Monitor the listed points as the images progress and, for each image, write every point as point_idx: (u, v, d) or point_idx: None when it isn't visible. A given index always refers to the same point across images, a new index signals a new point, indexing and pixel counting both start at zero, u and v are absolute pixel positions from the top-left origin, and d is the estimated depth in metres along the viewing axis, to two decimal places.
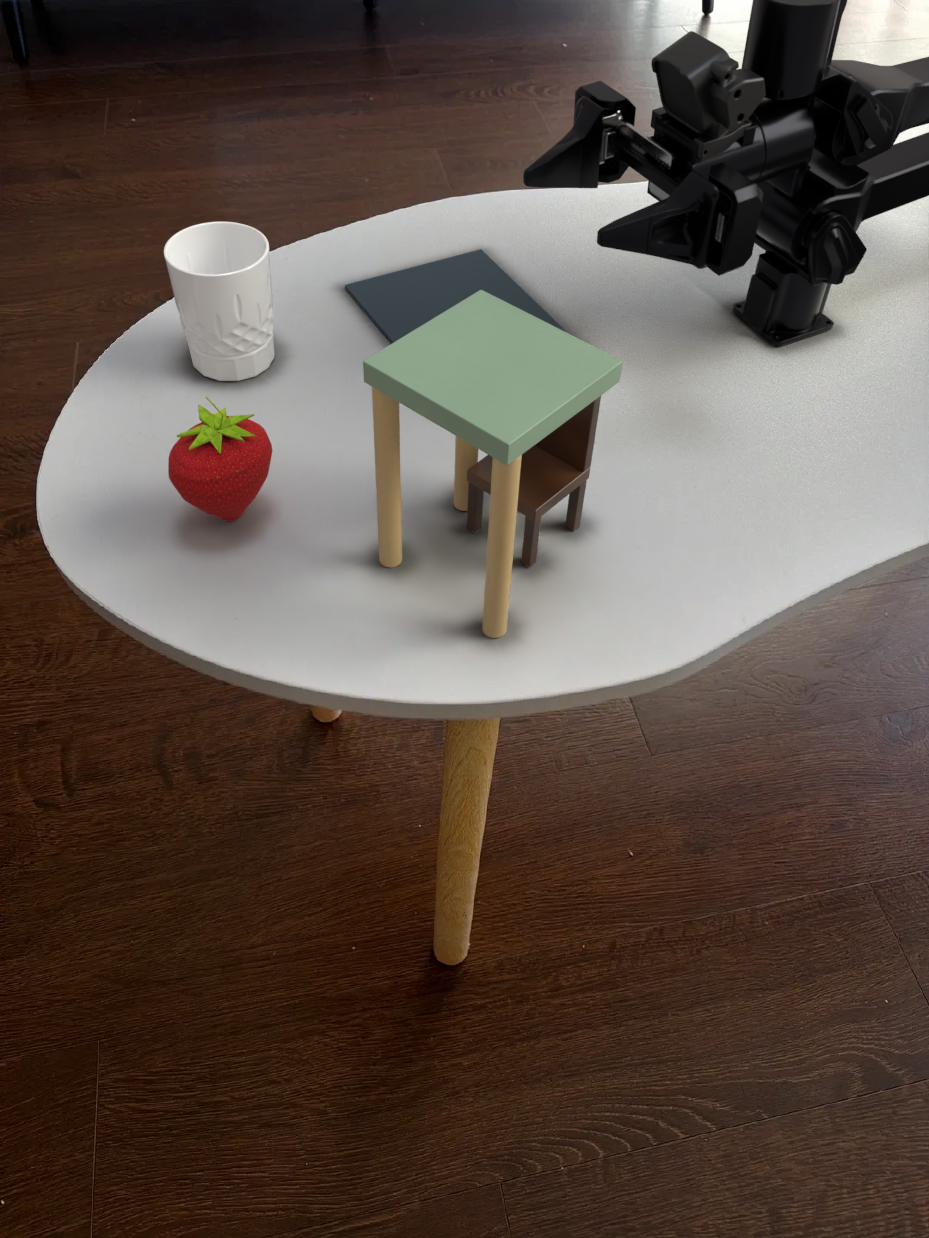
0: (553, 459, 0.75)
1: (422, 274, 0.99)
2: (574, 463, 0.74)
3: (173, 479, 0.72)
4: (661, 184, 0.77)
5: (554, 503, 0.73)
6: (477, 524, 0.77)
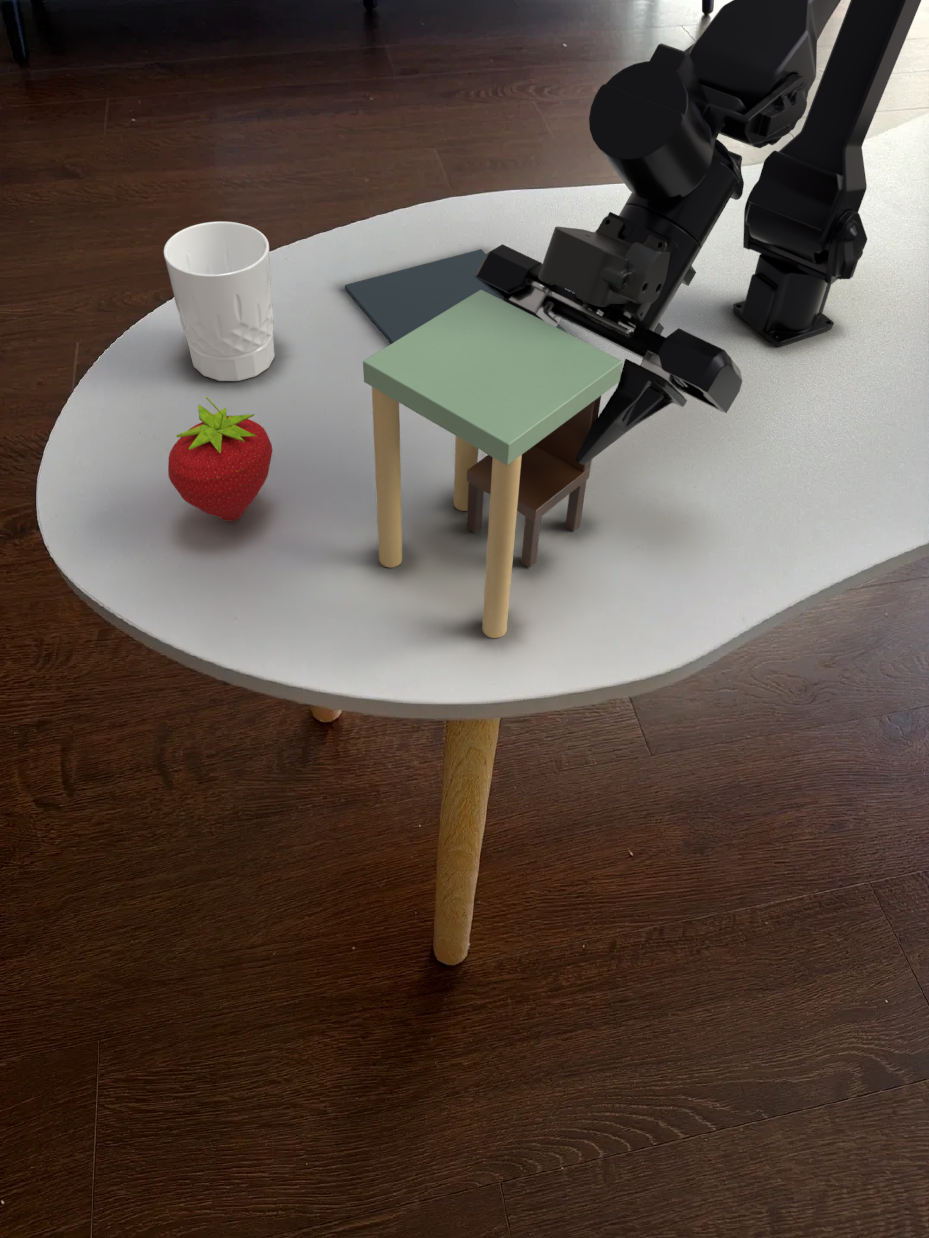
0: (553, 459, 0.75)
1: (422, 274, 0.99)
2: (574, 463, 0.74)
3: (173, 479, 0.72)
4: (597, 335, 0.72)
5: (554, 503, 0.73)
6: (477, 524, 0.77)
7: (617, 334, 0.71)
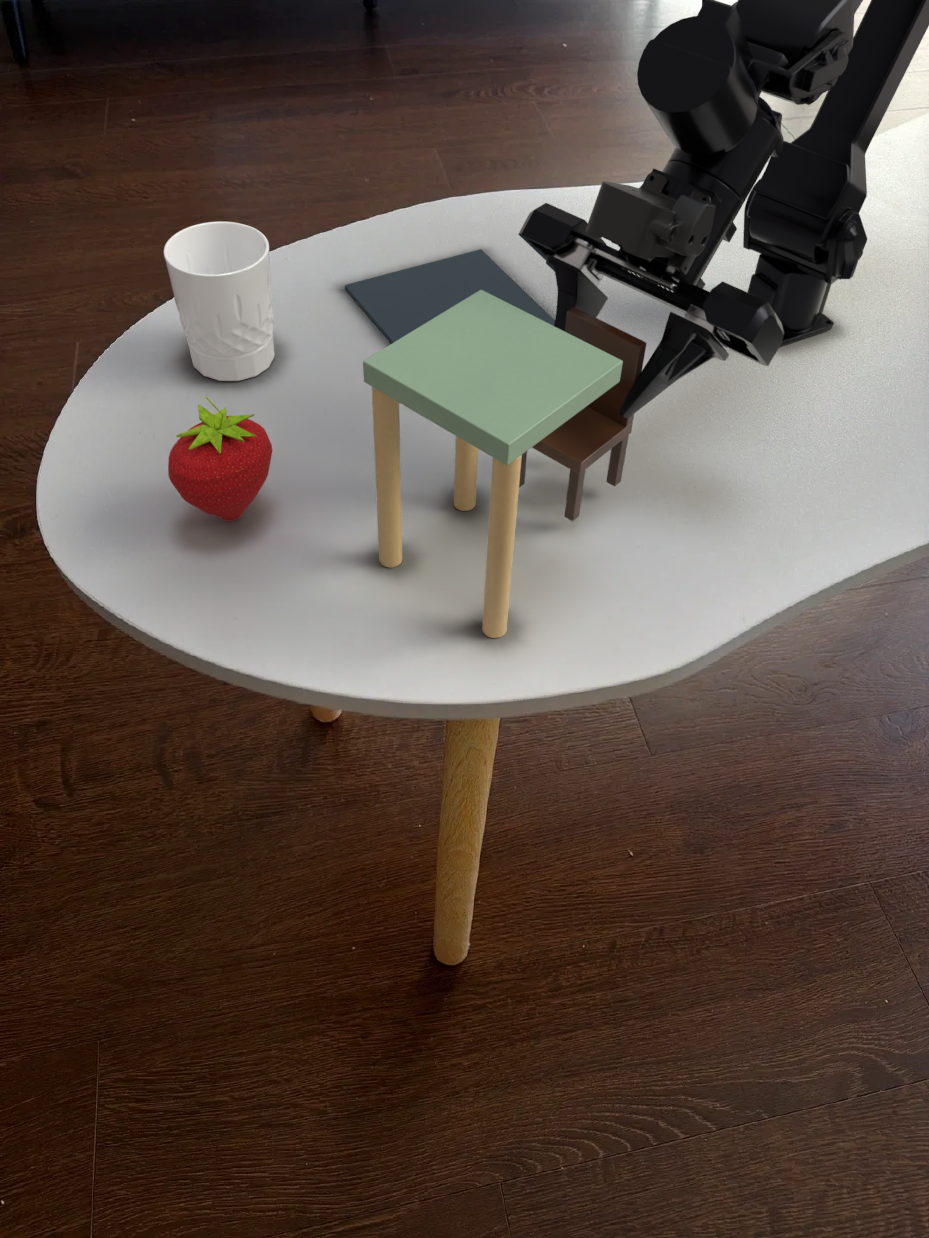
0: (596, 414, 0.76)
1: (422, 274, 0.99)
2: (617, 418, 0.76)
3: (173, 479, 0.72)
4: (640, 291, 0.74)
5: (598, 456, 0.74)
6: (520, 479, 0.79)
7: (660, 289, 0.73)
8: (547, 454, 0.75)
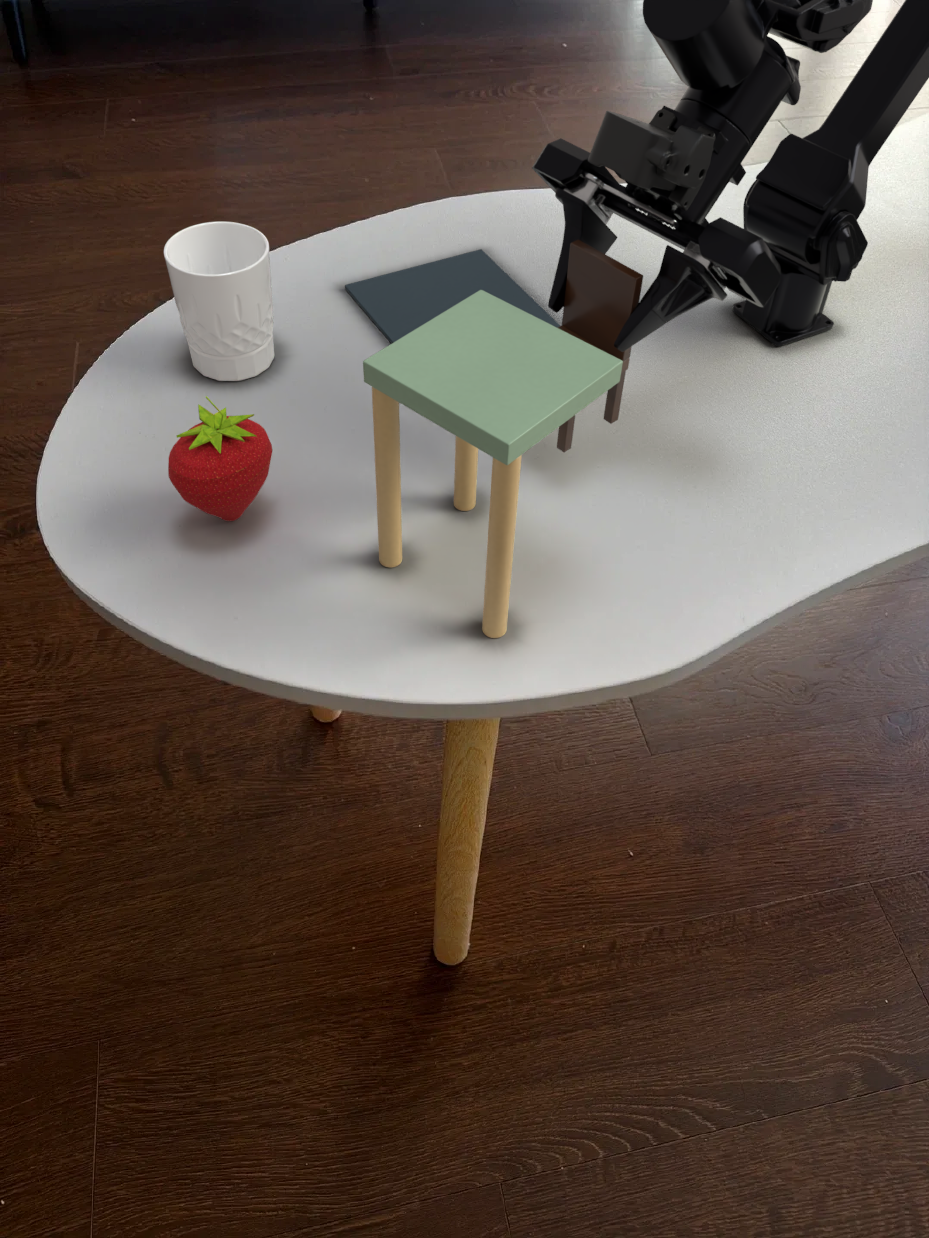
0: None
1: (422, 274, 0.99)
2: (614, 352, 0.77)
3: (173, 479, 0.72)
4: (644, 228, 0.75)
5: None
6: None
7: (663, 226, 0.74)
8: None
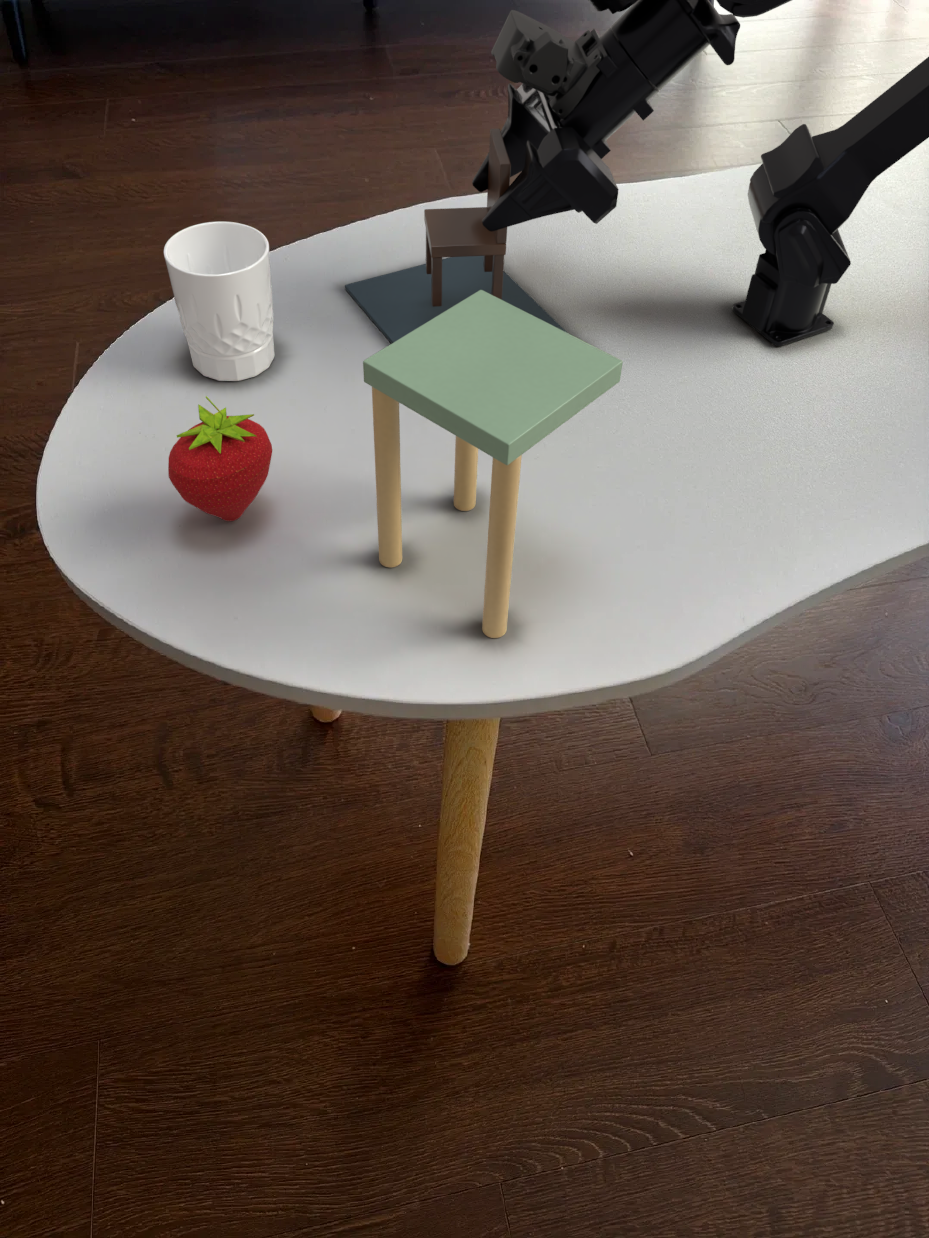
0: None
1: (422, 274, 0.99)
2: (495, 235, 0.87)
3: (173, 479, 0.72)
4: None
5: (457, 254, 0.87)
6: (429, 266, 0.93)
7: None
8: (427, 238, 0.89)
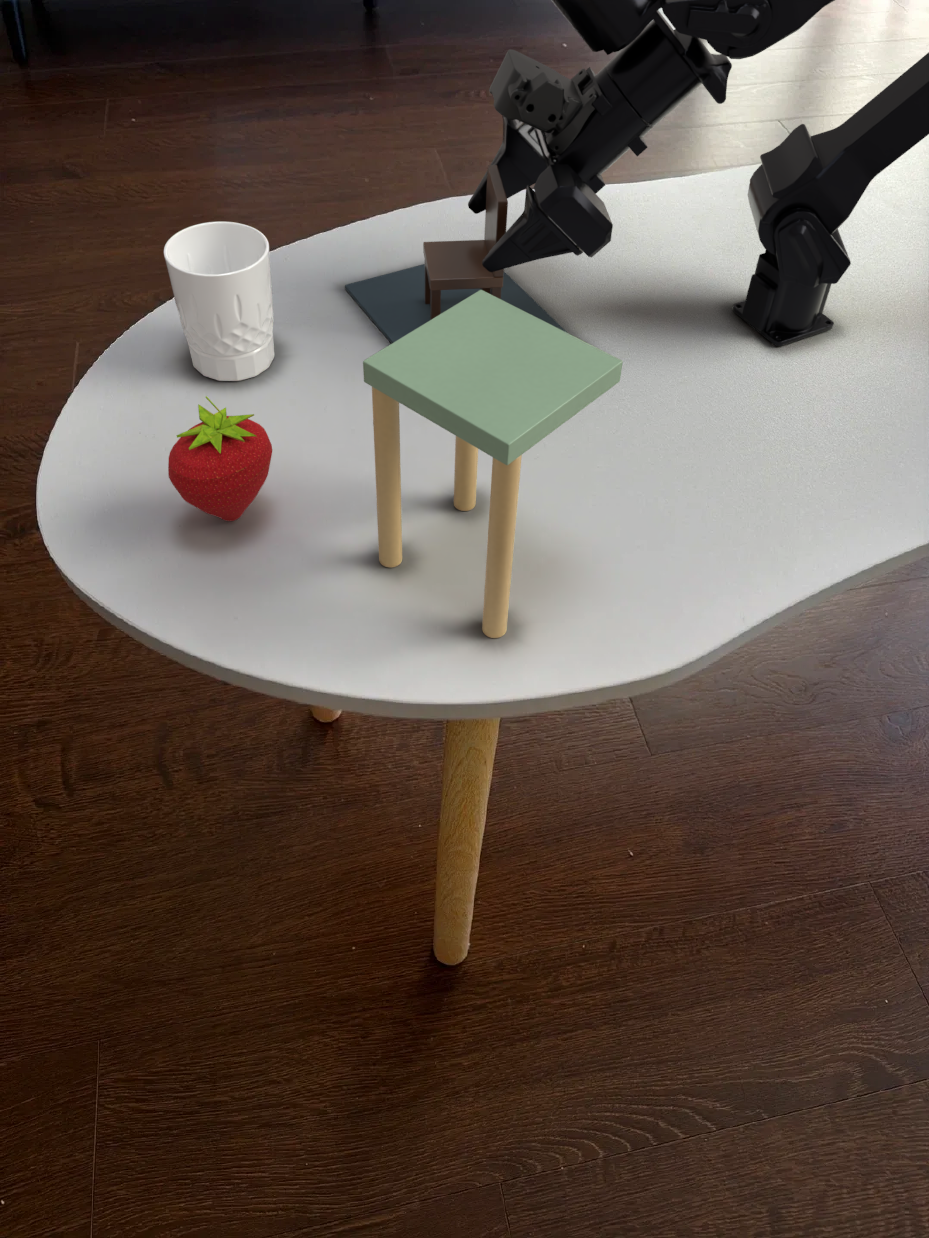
0: None
1: (422, 274, 0.99)
2: None
3: (173, 479, 0.72)
4: None
5: (455, 286, 0.89)
6: (428, 297, 0.96)
7: None
8: (426, 270, 0.91)
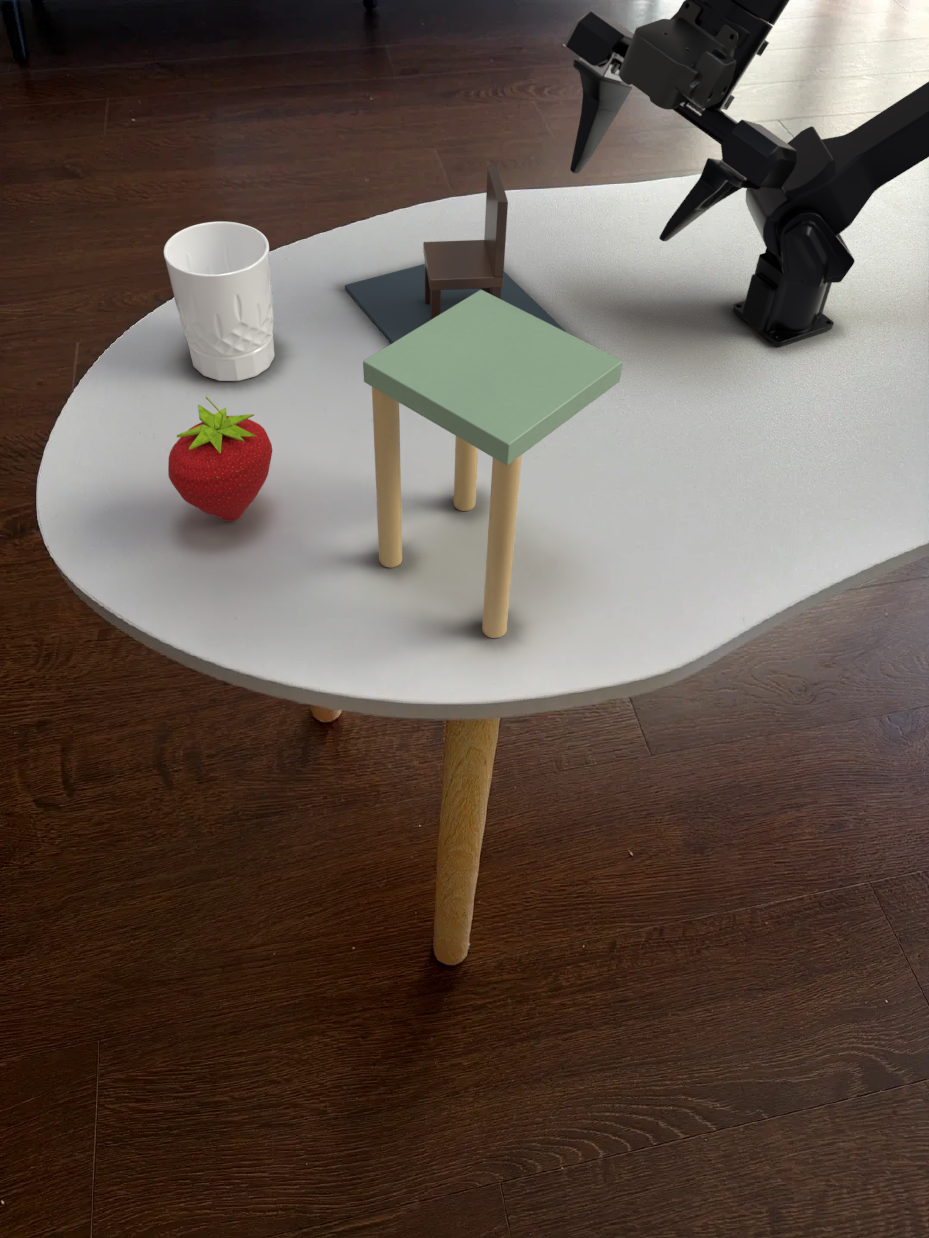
0: (486, 262, 0.91)
1: (422, 274, 0.99)
2: (492, 268, 0.89)
3: (173, 479, 0.72)
4: None
5: (455, 286, 0.89)
6: (428, 297, 0.96)
7: (704, 122, 0.79)
8: (426, 270, 0.91)
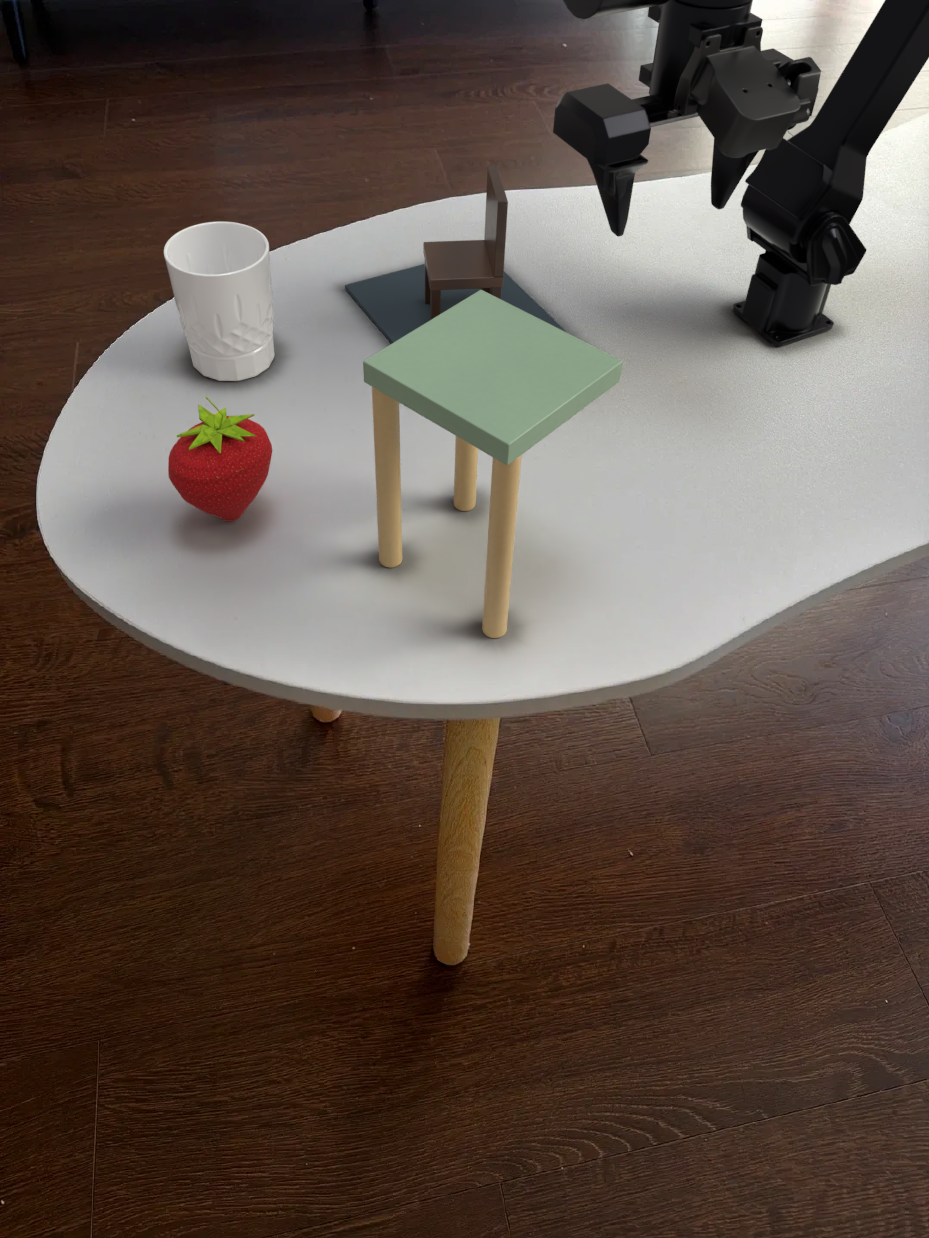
0: (486, 262, 0.91)
1: (422, 274, 0.99)
2: (492, 268, 0.89)
3: (173, 479, 0.72)
4: None
5: (455, 286, 0.89)
6: (428, 297, 0.96)
7: None
8: (426, 270, 0.91)
